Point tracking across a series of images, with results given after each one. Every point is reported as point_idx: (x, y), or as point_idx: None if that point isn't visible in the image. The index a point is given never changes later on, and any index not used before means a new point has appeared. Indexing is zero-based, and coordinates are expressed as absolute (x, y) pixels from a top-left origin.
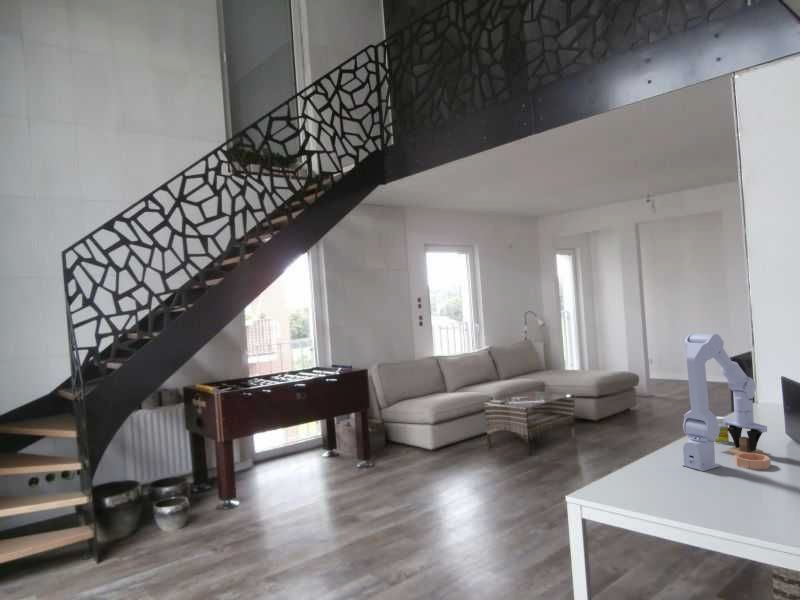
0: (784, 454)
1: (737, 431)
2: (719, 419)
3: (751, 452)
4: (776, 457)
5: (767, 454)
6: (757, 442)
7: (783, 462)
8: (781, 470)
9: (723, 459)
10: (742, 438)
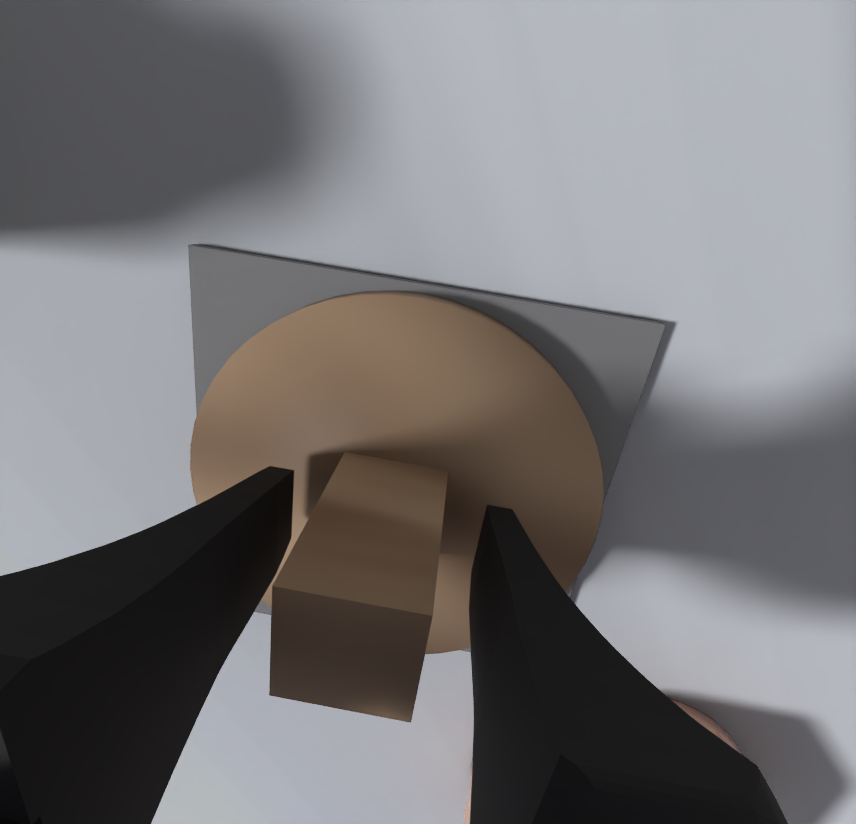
0: (833, 148)
1: (132, 744)
2: None
3: (472, 529)
4: (743, 402)
5: (625, 385)
6: (557, 586)
7: (848, 557)
8: (848, 779)
9: (345, 739)
10: (335, 707)
